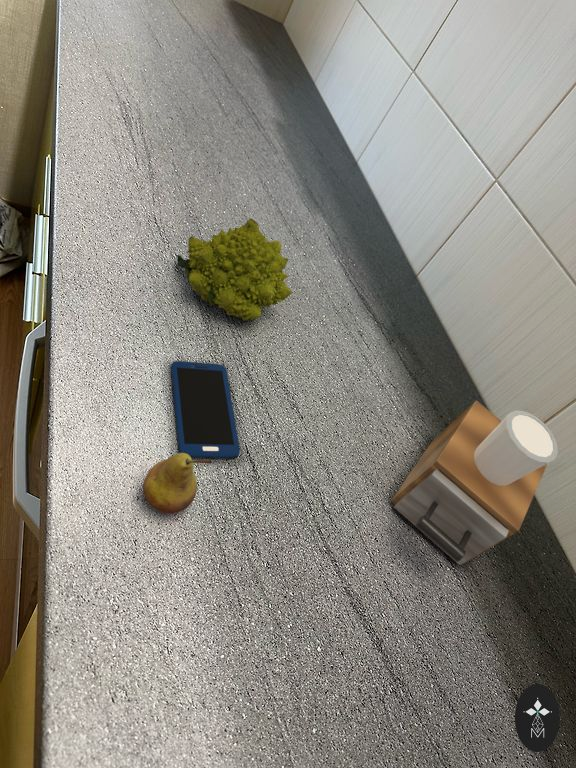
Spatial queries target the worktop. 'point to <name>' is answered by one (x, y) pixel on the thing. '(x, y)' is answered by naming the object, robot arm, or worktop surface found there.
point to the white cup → (515, 448)
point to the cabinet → (474, 469)
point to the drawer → (450, 517)
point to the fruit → (171, 484)
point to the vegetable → (237, 270)
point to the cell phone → (204, 410)
